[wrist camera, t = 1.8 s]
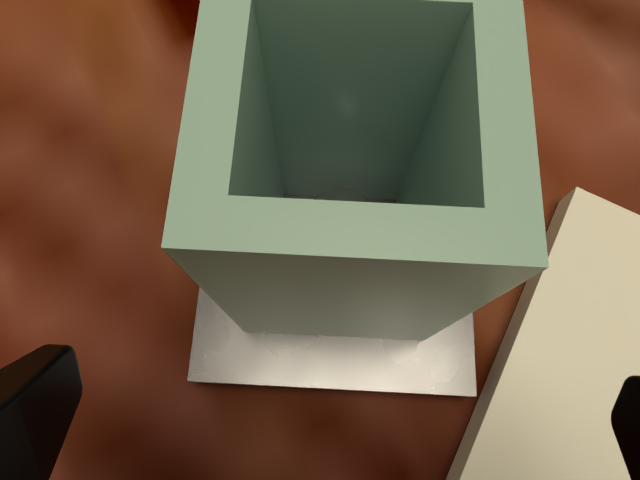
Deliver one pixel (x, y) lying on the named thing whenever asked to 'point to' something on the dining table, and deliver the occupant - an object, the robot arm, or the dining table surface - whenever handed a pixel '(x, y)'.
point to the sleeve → (357, 164)
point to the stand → (331, 352)
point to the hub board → (563, 356)
